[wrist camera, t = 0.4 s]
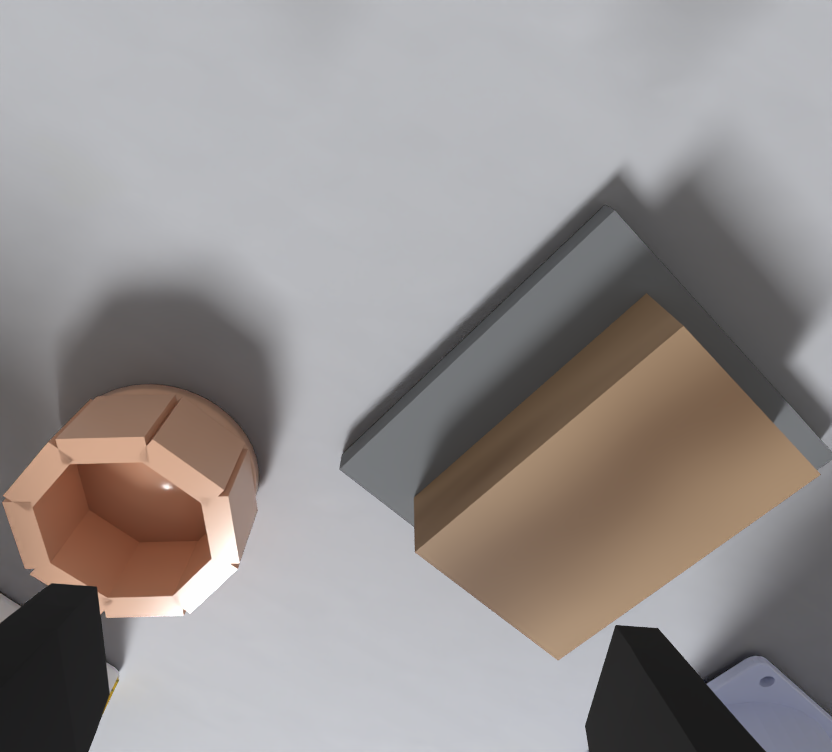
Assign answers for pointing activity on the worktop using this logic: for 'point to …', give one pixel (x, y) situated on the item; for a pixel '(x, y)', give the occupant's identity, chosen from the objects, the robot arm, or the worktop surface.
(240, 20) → the worktop surface
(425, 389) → the mat
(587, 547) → the tan cardboard box
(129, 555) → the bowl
